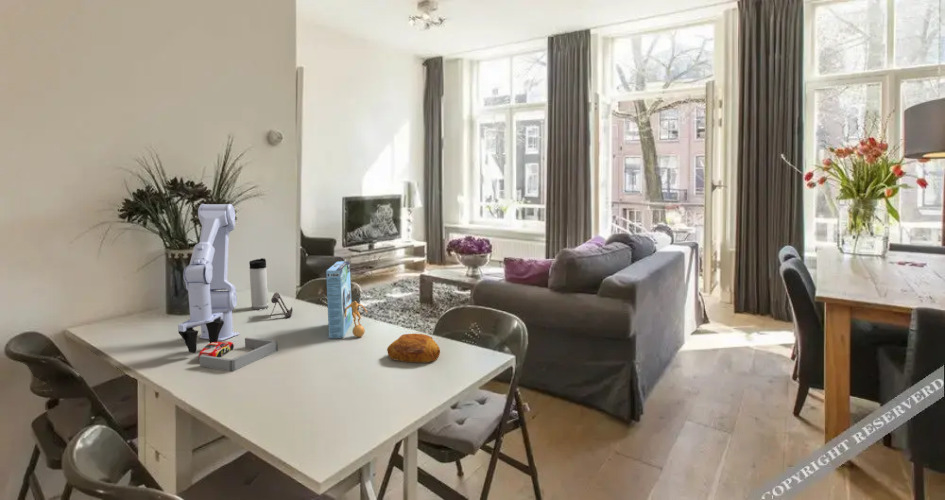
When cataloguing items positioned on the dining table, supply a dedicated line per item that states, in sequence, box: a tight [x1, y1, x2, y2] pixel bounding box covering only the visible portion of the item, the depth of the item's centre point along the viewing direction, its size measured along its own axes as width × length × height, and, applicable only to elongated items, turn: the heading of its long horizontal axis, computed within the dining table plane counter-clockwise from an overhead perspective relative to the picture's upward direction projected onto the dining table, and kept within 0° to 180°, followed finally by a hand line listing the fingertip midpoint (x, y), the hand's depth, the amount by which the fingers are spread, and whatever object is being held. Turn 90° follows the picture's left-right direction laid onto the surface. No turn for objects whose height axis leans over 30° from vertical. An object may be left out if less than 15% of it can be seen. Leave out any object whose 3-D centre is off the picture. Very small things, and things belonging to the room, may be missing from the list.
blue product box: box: [325, 260, 353, 339], centre depth 174 cm, size 20×5×23 cm, turn 4°
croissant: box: [386, 333, 441, 364], centre depth 150 cm, size 14×16×8 cm
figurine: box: [345, 300, 368, 338], centre depth 169 cm, size 8×6×12 cm
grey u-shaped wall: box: [198, 336, 279, 373], centre depth 148 cm, size 12×18×3 cm, turn 161°
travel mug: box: [248, 257, 269, 311], centre depth 204 cm, size 6×7×20 cm
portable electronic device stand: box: [269, 292, 293, 319], centre depth 193 cm, size 9×8×8 cm
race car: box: [198, 340, 235, 361], centre depth 151 cm, size 13×5×4 cm, turn 177°
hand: (203, 348), depth 152 cm, fingers open, 7 cm apart
